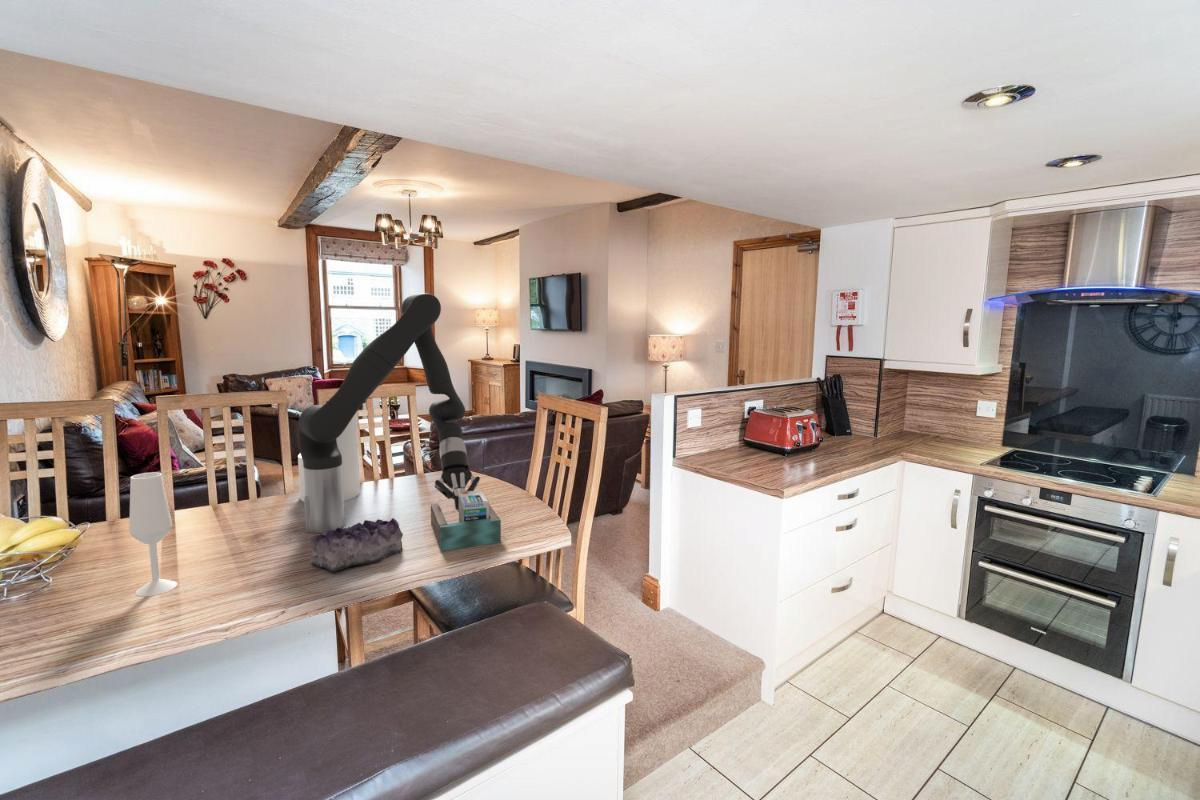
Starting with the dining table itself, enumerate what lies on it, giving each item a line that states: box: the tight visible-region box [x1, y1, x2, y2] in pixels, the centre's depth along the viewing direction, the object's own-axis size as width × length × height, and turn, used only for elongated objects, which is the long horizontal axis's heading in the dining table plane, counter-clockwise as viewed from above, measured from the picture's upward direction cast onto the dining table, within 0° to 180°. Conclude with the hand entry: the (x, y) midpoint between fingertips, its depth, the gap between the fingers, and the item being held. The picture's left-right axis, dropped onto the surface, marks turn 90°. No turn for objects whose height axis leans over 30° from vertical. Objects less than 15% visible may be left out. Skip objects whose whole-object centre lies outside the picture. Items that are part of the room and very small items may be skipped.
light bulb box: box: [458, 489, 490, 522], centre depth 141 cm, size 11×7×11 cm, turn 22°
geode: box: [308, 517, 404, 572], centre depth 126 cm, size 20×12×10 cm, turn 134°
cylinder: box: [297, 411, 361, 503], centre depth 170 cm, size 17×17×28 cm
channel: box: [430, 502, 502, 552], centre depth 143 cm, size 15×19×6 cm
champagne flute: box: [128, 471, 178, 597], centre depth 108 cm, size 7×7×24 cm
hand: (461, 510), depth 146 cm, fingers closed
